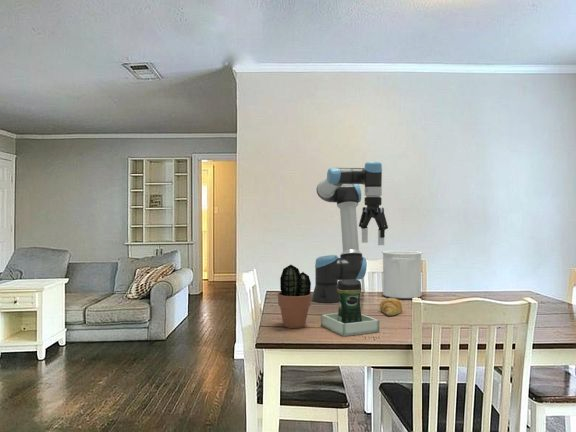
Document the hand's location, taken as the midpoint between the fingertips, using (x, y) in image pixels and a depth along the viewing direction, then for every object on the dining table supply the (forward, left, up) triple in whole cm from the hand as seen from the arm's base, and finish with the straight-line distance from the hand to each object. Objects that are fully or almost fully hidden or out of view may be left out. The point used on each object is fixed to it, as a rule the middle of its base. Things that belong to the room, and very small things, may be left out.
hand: (372, 244), depth 211 cm
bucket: (-32, +41, -32) cm, 61 cm away
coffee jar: (+17, -22, -31) cm, 42 cm away
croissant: (-2, +11, -33) cm, 34 cm away
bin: (+17, -22, -32) cm, 43 cm away
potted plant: (+3, -40, -32) cm, 52 cm away
